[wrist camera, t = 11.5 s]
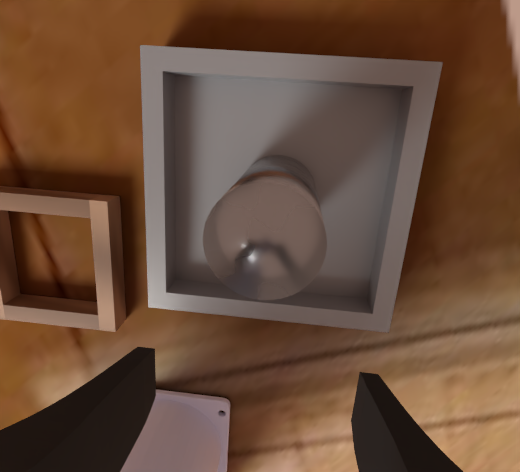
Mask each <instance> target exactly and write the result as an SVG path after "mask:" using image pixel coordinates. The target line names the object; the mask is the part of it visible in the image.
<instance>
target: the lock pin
mask: <svg viewBox="0 0 520 472" xmlns="http://www.w3.org/2000/svg"><path fill="white" fill-rule="evenodd" d="M203 248H204V253H205V257H206V259H207V262H208V264H209V266H210V268H211V270H212V271H213V273H214V274H215V275H216V277H217V278H218V279H219V280H220V281H221V282H222V283H223V284H224V285H225V286H227V287H228V288H229V289H231V290H232V291H234V292H236V293H238V294H240V295H243V296H245V297H248V298H252V299H258V300H276V299H281V298H285V297H288V296H291V295H293V294H295V293H297V292H299V291H300V290H302V289H304V288H305V287H306V286H307V285H308V284H310V283H311V281H312V280H313V279H314V278H315V277H316V275H317V274H318V273H319V271H320V269H321V267H322V265H323V262H324V259H325V256H326V250H327V236H326V231H325V226H324V222H323V217H322V213H321V208H320V204H319V199H318V195H317V191H316V186H315V182H314V179H313V177H312V175H311V173H310V172H309V170H308V169H307V168H306V167H305V166H304V165H303V164H302V163H301V162H299V161H298V160H296V159H294V158H291V157H288V156H283V155H273V156H268V157H265V158H262V159H260V160H258V161H257V162H255V163H254V164H253V165H252V166H251V167H250V168H249V169H248V170H247V171H246V172H245V173H244V174H243V175H242V176H241V177H240V178H239V179H238V181H237V182H236V183H235V184H234V185H233V186H232V187H231V188H230V189H229V190H228V191H227V192H226V193H225V194H224V195H223V197H222V198H221V199H220V200H219V201H218V202H217V203H216V204H215V205H214V207H213V208H212V210H211V211H210V213H209V215H208V217H207V220H206V222H205V226H204V231H203Z"/></svg>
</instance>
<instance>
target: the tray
mask: <svg viewBox="0 0 520 472" xmlns="http://www.w3.org/2000/svg"><path fill="white" fill-rule="evenodd" d="M140 57H141V89H142V120H143V152H144V183H145V214H146V246H147V277H148V307H152V308H161V309H171V310H180V311H189V312H199V313H208V314H217V315H227V316H236V317H246V318H255V319H264V320H274V321H283V322H293V323H302V324H311V325H321V326H330V327H340V328H349V329H358V330H368V331H377V332H387V333H389V330H390V325H391V320H392V315H393V310H394V305H395V300H396V295H397V290H398V285H399V280H400V275H401V270H402V265H403V260H404V255H405V250H406V245H407V240H408V235H409V230H410V225H411V220H412V215H413V210H414V205H415V200H416V195H417V189H418V184H419V179H420V174H421V169H422V164H423V159H424V154H425V149H426V144H427V139H428V134H429V129H430V124H431V119H432V114H433V109H434V104H435V99H436V94H437V89H438V84H439V79H440V74H441V69H442V64H443V62H433V61H415V60H397V59H379V58H361V57H344V56H326V55H308V54H290V53H272V52H255V51H237V50H219V49H201V48H183V47H166V46H148V45H140ZM273 155H283V156H288V157H291V158H294V159H296V160H298V161H299V162H301V163H302V164H303V165H304V166H305V167H306V168H307V169H308V170H309V172H310V173H311V175H312V177H313V179H314V182H315V186H316V191H317V195H318V199H319V204H320V208H321V213H322V217H323V222H324V226H325V231H326V236H327V250H326V256H325V259H324V262H323V265H322V267H321V269H320V271H319V273H318V274H317V275H316V277H315V278H314V279H313V280H312V281H311V283H310V284H308V285H307V286H306V287H305V288H304V289H302V290H300V291H299V292H297V293H295V294H293V295H291V296H288V297H285V298H281V299H276V300H258V299H252V298H248V297H245V296H243V295H240V294H238V293H236V292H234V291H232V290H231V289H229V288H228V287H227V286H225V285H224V284H223V283H222V282H221V281H220V280H219V279H218V278H217V277H216V275H215V274H214V273H213V271H212V270H211V268H210V266H209V264H208V262H207V259H206V257H205V253H204V248H203V231H204V226H205V222H206V220H207V217H208V215H209V213H210V211H211V210H212V208H213V207H214V205H215V204H216V203H217V202H218V201H219V200H220V199H221V198H222V197H223V195H224V194H225V193H226V192H227V191H228V190H229V189H230V188H231V187H232V186H233V185H234V184H235V183H236V182H237V181H238V179H239V178H240V177H241V176H242V175H243V174H244V173H245V172H246V171H247V170H248V169H249V168H250V167H251V166H252V165H253V164H254V163H255V162H257V161H258V160H260V159H262V158H265V157H268V156H273Z"/></svg>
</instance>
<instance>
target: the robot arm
mask: <svg viewBox="0 0 520 472" xmlns="http://www.w3.org/2000/svg"><path fill="white" fill-rule="evenodd" d="M221 410H222V411H224V412H221ZM351 422H352V432H353V442H354V450H355V455H356V460H357V465H358V469H359V472H463V471H462V470H461V469H460V468H459V467H458V466H457V465H456V464H455V463H454V462H452V461H451V460H450V459H449V458H448V457H447V456H446V455H445V454H444V453H443V452H442V451H441V450H440V449H439V448H438V447H437V446H436V444H435V443H434V442H433V441H432V440H431V439H430V438H429V437H428V436H427V435H426V434H425V432H424V431H423V430H422V429H421V428H420V427H419V426H418V424H417V423H416V422H415V421H414V420H413V418H412V417H411V416H410V415H409V414H408V412H407V411H406V410H405V409H404V407H403V406H402V405H401V404H400V402H399V401H398V400H397V398H396V397H395V396H394V394H393V393H392V392H391V391H390V389H389V388H388V387H387V385H386V384H385V383H384V381H383V380H382V379H381V377H380V376H379V375H378V374H371V373H362V372H360V374H359V380H358V385H357V391H356V397H355V402H354V408H353V414H352V419H351ZM229 423H230V402H229V400H228V399H226V398H223V397H214V396H206V395H198V394H190V393H182V392H173V391H165V390H157V389H156V381H155V349H152V348H143V347H137V348H136V349H134V350H133V351H131V352H130V353H129V354H127V355H126V356H124V357H123V358H122V359H120V360H119V361H118V362H116V363H115V364H113V365H112V366H111V367H109V368H108V369H106V370H105V371H104V372H102V373H101V374H99V375H98V376H96V377H95V378H94V379H92V380H91V381H89V382H88V383H86V384H84V385H83V386H81V387H80V388H78V389H77V390H75V391H74V392H72V393H70V394H69V395H67V396H66V397H64V398H62V399H61V400H59V401H57V402H56V403H54V404H52V405H50V406H49V407H47V408H45V409H43V410H41V411H39V412H37V413H36V414H34V415H32V416H30V417H28V418H26V419H24V420H21V421H19V422H17V423H15V424H13V425H11V426H9V427H6V428H4V429H2V430H0V472H227V463H228V443H229Z"/></svg>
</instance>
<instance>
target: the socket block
mask: <svg viewBox="0 0 520 472" xmlns="http://www.w3.org/2000/svg"><path fill="white" fill-rule="evenodd" d="M8 211H18V212H29V213H40V214H51V215H62V216H73V217H84V218H91V230H92V242H93V255H94V267H95V280H96V292H97V302H93V301H83V300H74V299H65V298H55V297H46V296H37V295H27V294H20V287H19V280H18V274H17V267H16V260H15V254H14V247H13V240H12V234H11V227H10V220H9V214H8ZM0 319H6V320H15V321H24V322H33V323H42V324H50V325H59V326H68V327H77V328H86V329H95V330H104V331H113V332H116V331H117V329H118V328H119V327H120V326H121V325H122V324H123V322H124V321H125V320H126V302H125V283H124V264H123V245H122V226H121V207H120V196H113V195H101V194H90V193H78V192H66V191H55V190H43V189H31V188H19V187H8V186H0Z"/></svg>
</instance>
